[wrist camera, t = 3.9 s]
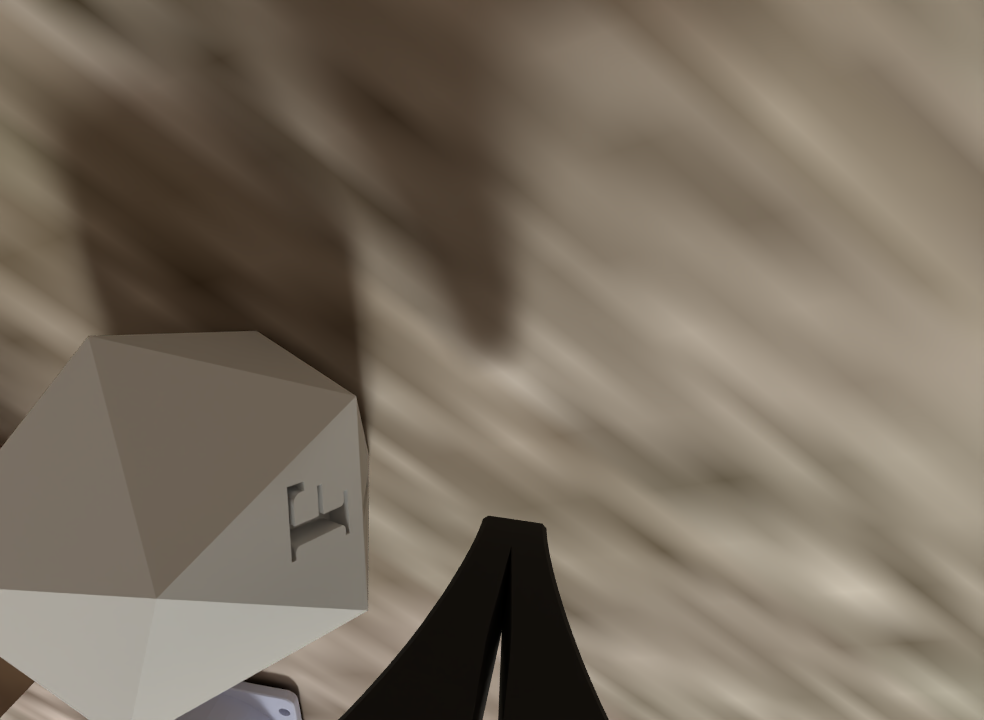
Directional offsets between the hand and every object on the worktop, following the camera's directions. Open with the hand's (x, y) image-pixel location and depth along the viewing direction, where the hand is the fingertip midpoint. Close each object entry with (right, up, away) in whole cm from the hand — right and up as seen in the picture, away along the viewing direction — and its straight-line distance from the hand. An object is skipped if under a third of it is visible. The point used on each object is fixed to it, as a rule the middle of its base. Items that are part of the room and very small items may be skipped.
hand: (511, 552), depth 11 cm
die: (-7, +3, +4) cm, 9 cm away
